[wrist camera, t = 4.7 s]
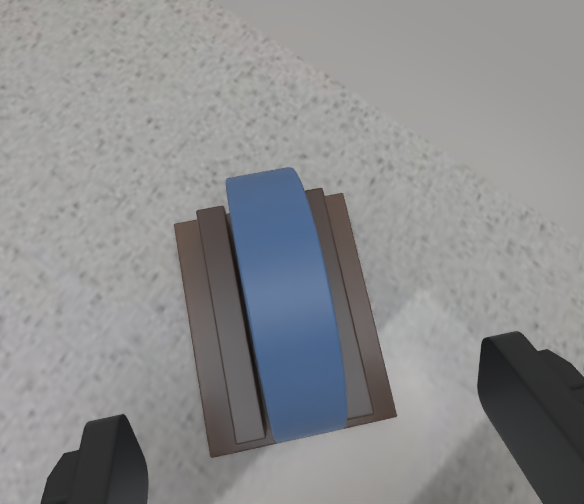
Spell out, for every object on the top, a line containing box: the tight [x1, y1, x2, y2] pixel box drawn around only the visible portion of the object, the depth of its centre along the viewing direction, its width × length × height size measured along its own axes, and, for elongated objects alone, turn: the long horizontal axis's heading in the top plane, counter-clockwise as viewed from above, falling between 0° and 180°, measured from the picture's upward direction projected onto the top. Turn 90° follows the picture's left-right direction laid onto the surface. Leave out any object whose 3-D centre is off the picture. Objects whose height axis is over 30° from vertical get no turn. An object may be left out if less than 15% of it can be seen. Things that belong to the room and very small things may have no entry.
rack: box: [174, 188, 397, 458], centre depth 19 cm, size 7×9×4 cm
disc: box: [226, 167, 347, 443], centre depth 16 cm, size 2×8×8 cm, turn 12°
